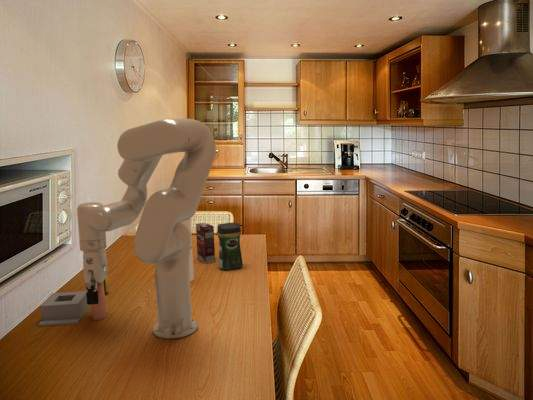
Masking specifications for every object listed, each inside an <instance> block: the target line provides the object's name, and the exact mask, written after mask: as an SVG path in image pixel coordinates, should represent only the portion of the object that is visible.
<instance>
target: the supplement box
mask: <svg viewBox="0 0 533 400" xmlns="http://www.w3.org/2000/svg"><path fill="white" fill-rule="evenodd" d="M195 235H196V251H197V252H196V253H197V255H196V256H197V260H199V261H201V262H202V263H205V264H211V263H215V262H216V253H215V252H216V249H215V228H214V225H212V224H210V223H207V222H199V223H195Z"/></svg>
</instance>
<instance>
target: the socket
mask: <svg viewBox="0 0 533 400" xmlns="http://www.w3.org/2000/svg"><path fill="white" fill-rule="evenodd" d="M90 306H91V305H88V304H87V296H86V290H85V291H84V290H83V291H82V290H80V291H79V290H78V291H67V292H66V291H65V292H52V293H51V294H50V295H49V296H48V297H47V298H46V299H45V300H44V302H43V303H41V305H40V306H39V309H40V316H41V317H40V318H41V320H40V322H39V323H38V326H39V327H49V326H51V327H52V326H61V325H62V326H63V325H76V324H79V323H80V321H81V319H82V318H83V316H84V315H85V314H86V312H87V311H88V309H89V307H90Z"/></svg>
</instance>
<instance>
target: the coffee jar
mask: <svg viewBox="0 0 533 400" xmlns="http://www.w3.org/2000/svg"><path fill="white" fill-rule="evenodd" d="M216 236H217V238H218V243H219V249H218V267H219V269H220V270H223V271H231V270H237V269H241V268H242V267H243V266H244V265H243V256H242V249H241V243H240V242H241V240H240V239H241V236H242V229H241V225H240V223H238V222H236V221H235V222H226V223H219V224H217V230H216Z"/></svg>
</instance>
